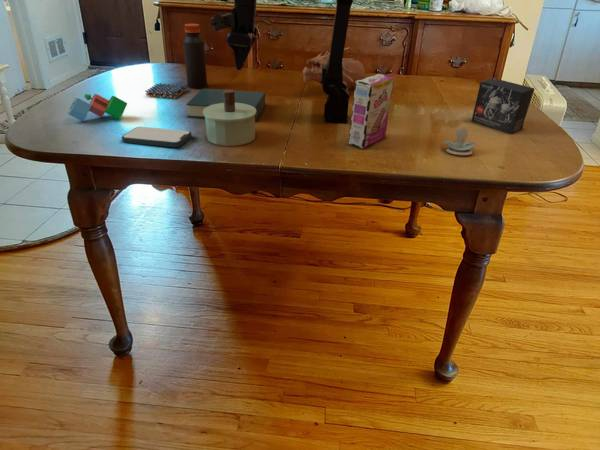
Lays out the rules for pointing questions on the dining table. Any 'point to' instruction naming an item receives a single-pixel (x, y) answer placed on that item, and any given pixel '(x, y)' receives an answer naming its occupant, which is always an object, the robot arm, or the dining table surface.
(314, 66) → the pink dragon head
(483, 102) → the small box
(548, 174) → the dining table surface
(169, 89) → the woven mat
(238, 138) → the dish
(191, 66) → the bottle
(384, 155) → the dining table surface
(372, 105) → the candy bar box
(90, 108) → the building blocks
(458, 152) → the pacifier
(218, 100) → the book
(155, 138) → the smartphone
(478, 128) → the dining table surface
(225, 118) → the cover
